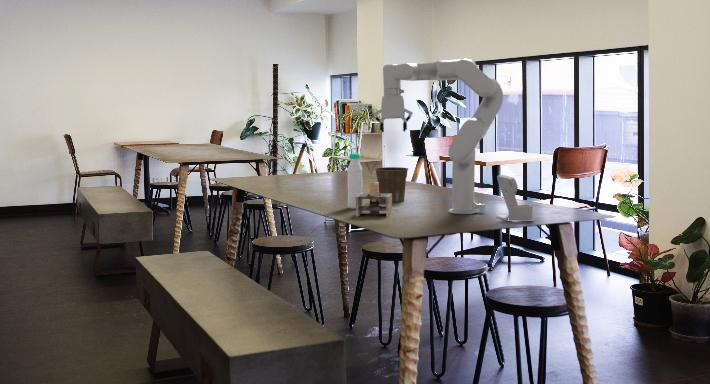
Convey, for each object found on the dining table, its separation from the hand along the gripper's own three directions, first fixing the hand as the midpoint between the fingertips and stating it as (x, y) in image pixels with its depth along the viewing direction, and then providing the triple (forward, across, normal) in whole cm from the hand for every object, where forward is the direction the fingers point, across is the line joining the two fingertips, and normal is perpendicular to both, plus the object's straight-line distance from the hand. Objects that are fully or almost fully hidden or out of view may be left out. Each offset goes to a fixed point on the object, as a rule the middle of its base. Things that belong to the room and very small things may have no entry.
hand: (393, 131), depth 369 cm
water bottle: (+35, +20, -10) cm, 41 cm away
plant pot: (+35, +5, -34) cm, 49 cm away
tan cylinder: (+35, +8, +12) cm, 38 cm away
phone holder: (+36, -51, +25) cm, 67 cm away
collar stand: (+35, +8, +12) cm, 38 cm away
